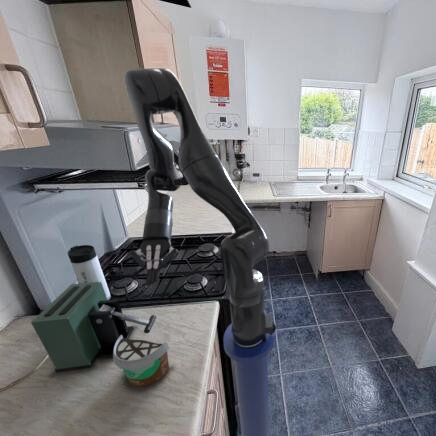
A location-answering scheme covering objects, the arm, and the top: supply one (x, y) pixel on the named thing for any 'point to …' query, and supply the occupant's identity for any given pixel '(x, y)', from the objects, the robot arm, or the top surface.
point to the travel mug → (87, 266)
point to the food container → (141, 360)
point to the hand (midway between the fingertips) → (152, 283)
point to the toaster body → (71, 327)
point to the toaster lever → (130, 318)
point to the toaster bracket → (108, 328)
